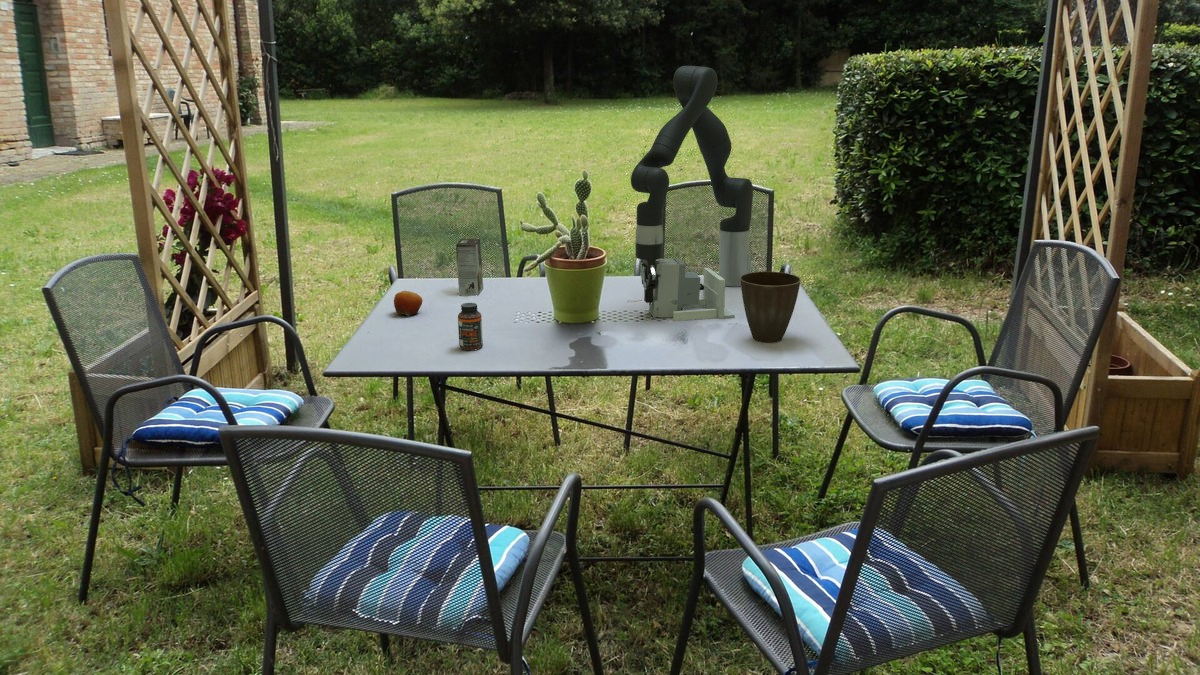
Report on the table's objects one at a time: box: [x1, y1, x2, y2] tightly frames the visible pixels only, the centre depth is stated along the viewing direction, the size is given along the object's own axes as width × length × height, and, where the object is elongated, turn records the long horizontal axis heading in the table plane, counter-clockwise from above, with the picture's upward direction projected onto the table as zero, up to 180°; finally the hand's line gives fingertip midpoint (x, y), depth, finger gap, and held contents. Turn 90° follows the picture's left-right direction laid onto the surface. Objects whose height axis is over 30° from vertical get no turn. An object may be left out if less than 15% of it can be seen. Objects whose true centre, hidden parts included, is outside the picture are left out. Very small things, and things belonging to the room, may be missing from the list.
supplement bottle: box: [457, 302, 484, 351], centre depth 233 cm, size 6×6×11 cm
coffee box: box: [455, 238, 484, 297], centre depth 286 cm, size 9×6×16 cm
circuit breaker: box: [648, 258, 704, 318], centre depth 259 cm, size 8×14×15 cm, turn 98°
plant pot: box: [740, 270, 801, 344], centre depth 234 cm, size 15×15×16 cm
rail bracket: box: [672, 267, 735, 322], centre depth 260 cm, size 17×15×11 cm
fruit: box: [393, 290, 423, 318], centre depth 264 cm, size 8×8×8 cm
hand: (648, 302), depth 258 cm, fingers closed
